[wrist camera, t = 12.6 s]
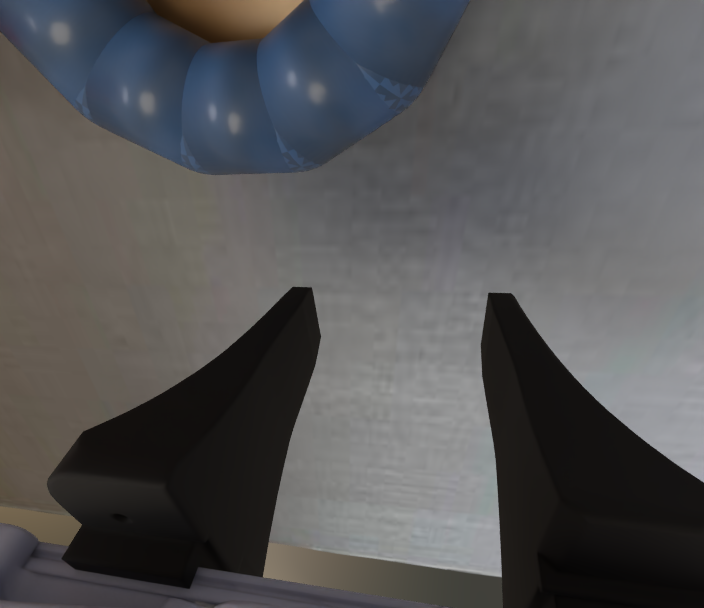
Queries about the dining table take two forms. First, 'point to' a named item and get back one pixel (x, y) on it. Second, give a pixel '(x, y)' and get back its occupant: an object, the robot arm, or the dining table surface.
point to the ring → (236, 76)
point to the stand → (225, 17)
